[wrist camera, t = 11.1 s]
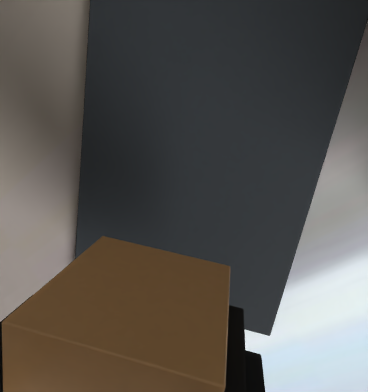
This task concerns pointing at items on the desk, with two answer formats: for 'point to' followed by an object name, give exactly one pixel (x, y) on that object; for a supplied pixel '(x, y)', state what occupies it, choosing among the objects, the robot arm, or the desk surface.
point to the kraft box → (122, 325)
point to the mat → (213, 130)
